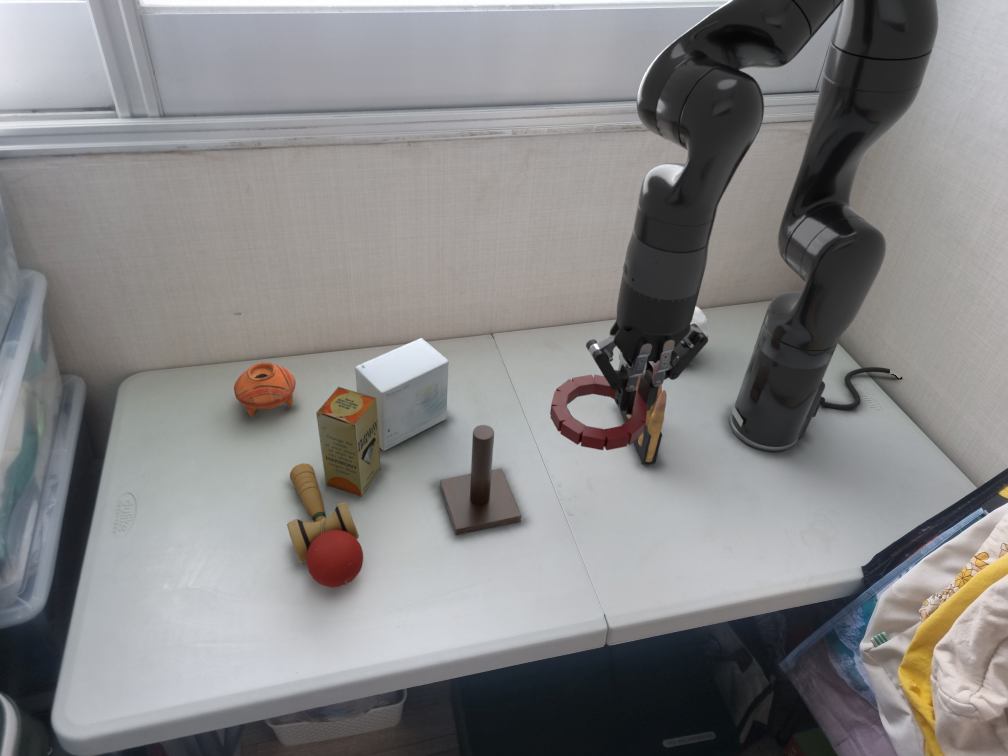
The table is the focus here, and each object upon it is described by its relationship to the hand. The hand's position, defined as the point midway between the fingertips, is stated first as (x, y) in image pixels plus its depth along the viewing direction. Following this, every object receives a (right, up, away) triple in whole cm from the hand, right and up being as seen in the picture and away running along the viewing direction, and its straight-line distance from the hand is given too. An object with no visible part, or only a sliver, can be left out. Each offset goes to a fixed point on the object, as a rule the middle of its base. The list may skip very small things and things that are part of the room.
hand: (633, 407), depth 85 cm
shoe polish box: (-33, -9, +11) cm, 36 cm away
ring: (-4, -1, -1) cm, 4 cm away
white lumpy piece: (+10, +6, +33) cm, 35 cm away
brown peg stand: (-17, -12, +9) cm, 23 cm away
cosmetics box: (-28, -3, +19) cm, 34 cm away
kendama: (-35, -15, +4) cm, 39 cm away
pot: (-46, 0, +20) cm, 51 cm away
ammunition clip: (+4, -5, +20) cm, 20 cm away
